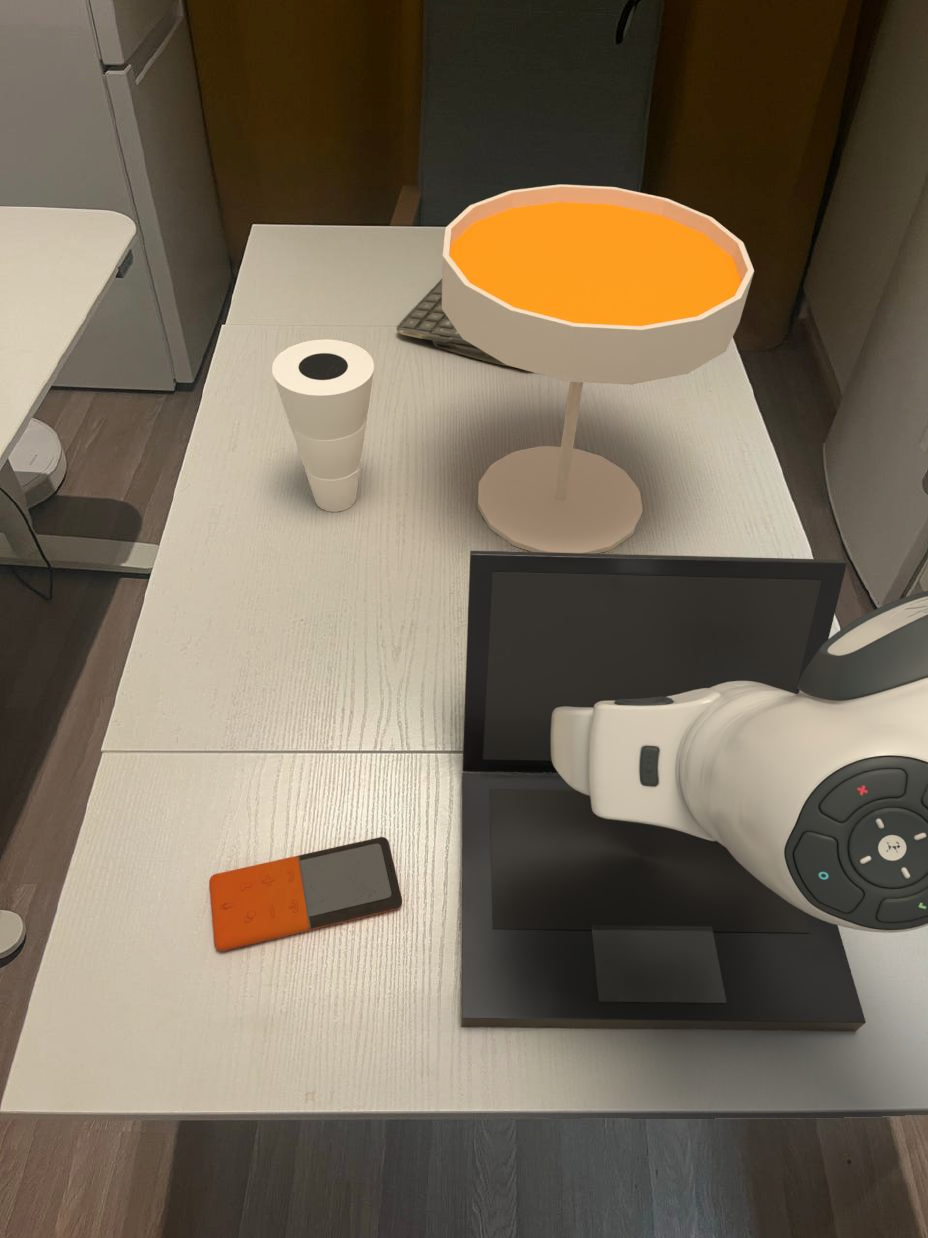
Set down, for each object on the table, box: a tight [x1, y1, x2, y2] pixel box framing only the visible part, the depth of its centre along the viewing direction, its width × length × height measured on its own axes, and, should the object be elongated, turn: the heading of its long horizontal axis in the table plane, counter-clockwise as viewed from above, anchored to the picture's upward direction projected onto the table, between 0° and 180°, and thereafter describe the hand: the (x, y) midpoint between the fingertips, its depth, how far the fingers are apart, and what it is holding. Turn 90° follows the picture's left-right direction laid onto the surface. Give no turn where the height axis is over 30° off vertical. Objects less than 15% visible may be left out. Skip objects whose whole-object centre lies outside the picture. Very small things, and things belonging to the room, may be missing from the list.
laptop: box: [396, 278, 517, 369], centre depth 134 cm, size 26×32×10 cm
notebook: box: [460, 772, 866, 1032], centre depth 74 cm, size 21×30×2 cm
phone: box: [208, 836, 403, 952], centre depth 73 cm, size 6×1×15 cm
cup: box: [271, 339, 375, 513], centre depth 100 cm, size 11×11×18 cm
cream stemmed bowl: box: [441, 183, 755, 554], centre depth 96 cm, size 30×30×31 cm
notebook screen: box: [461, 550, 848, 774], centre depth 76 cm, size 21×30×1 cm
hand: (683, 723), depth 63 cm, fingers closed
